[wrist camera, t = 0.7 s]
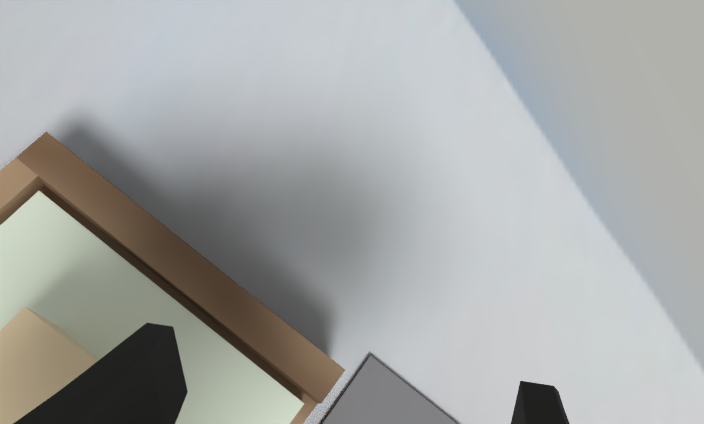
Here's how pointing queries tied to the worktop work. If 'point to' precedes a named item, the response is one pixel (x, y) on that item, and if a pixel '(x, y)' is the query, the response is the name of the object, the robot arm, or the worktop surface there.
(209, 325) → the walnut box
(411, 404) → the charcoal mat
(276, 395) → the cover plate
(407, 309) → the worktop surface
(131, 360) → the robot arm
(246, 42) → the worktop surface
